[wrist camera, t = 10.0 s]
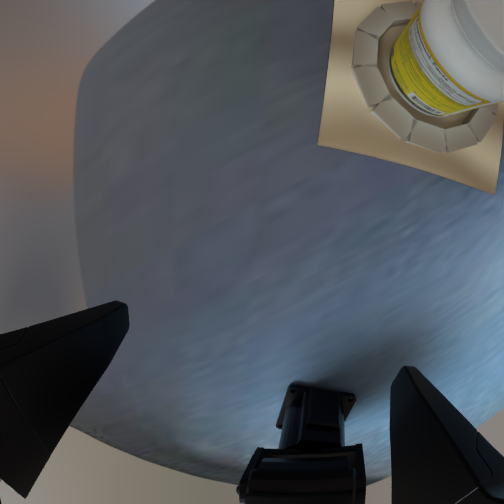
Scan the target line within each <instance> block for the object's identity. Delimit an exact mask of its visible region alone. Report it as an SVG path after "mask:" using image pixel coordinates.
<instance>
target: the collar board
mask: <svg viewBox="0 0 504 504" xmlns="http://www.w3.org/2000/svg"><path fill="white" fill-rule="evenodd" d="M423 1H424V0H335V2H334V14H333V25H332V36H331V45H330V55H329V64H328V72H327V80H326V88H325V96H324V104H323V111H322V118H321V125H320V132H319V139H318V145H320V146H325V147H330V148H335V149H340V150H345V151H349V152H354V153H358V154H363V155H367V156H371V157H375V158H379V159H383V160H387V161H391V162H395V163H398V164H402V165H405V166H409V167H412V168H416V169H419V170H423V171H426V172H429V173H432V174H436V175H439V176H442V177H445V178H448V179H451V180H454V181H457V182H459V183H462V184H465V185H468V186H471V187H473V188H476V189H479V190H481V191H484V192H486V193H489V194H492V195H495V190H496V184H497V178H498V172H499V165H500V157H501V148H502V137H503V122H504V102H501V103H497V104H492V105H488V106H484V107H480V108H476V109H472V110H469V111H465V112H462V113H458V114H454V115H451V116H445V117H434V116H430V115H426V114H424V113H421V112H419V111H418V110H416V109H414V108H413V107H412V106H410V105H409V104H408V103H407V102H406V101H405V100H404V99H403V98H402V97H401V96H400V94H399V93H398V92H397V90H396V88H395V87H394V85H393V83H392V80H391V77H390V73H389V68H388V60H389V54H390V51H391V49H392V47H393V45H394V44H395V42H396V41H397V39H398V38H399V36H400V35H401V33H402V31H403V30H404V29H405V27H406V26H407V24H408V23H409V21H410V20H411V18H412V17H413V15H414V14H415V12H416V11H417V10H418V8H419V7H420V5H421V4H422V2H423Z"/></svg>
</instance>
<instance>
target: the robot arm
mask: <svg viewBox="0 0 504 504" xmlns="http://www.w3.org/2000/svg"><path fill="white" fill-rule="evenodd" d="M128 329H129V314H128V306H127V304H125V303H123V302H120V301H112V302H109V303H106V304H102V305H99V306H96V307H92V308H89V309H86V310H83V311H79V312H76V313H73V314H69V315H66V316H63V317H59V318H56V319H52V320H49V321H46V322H43V323H39V324H36V325H32V326H29V327H28V328H27V327H26V328H22V329H19V330H15V331H11V332H8V333H4V334H0V481H1V480H2V481H3V482H5V483H6V484H7V485H8V486H9V487H10V488H12V489H13V490H14V491H15V492H17V493H18V494H19V495H20V496H21V497H23V498H24V499H25V498H26V497H27V496H28V494H29V492H30V490H31V488H32V487H33V485H34V483H35V481H36V480H37V478H38V476H39V475H40V473H41V471H42V469H43V468H44V466H45V464H46V463H47V461H48V459H49V458H50V455H51V454H52V452H53V451H54V449H55V447H56V446H57V444H58V442H59V441H60V439H61V438H62V436H63V434H64V433H65V431H66V430H67V428H68V427H69V425H70V423H71V422H72V420H73V419H74V417H75V416H76V414H77V412H78V411H79V409H80V408H81V406H82V405H83V403H84V402H85V400H86V399H87V397H88V396H89V394H90V393H91V391H92V390H93V388H94V387H95V385H96V384H97V382H98V381H99V379H100V378H101V376H102V375H103V373H104V372H105V371H106V369H107V367H108V366H109V364H110V363H111V361H112V359H113V357H114V355H115V354H116V352H117V350H118V348H119V346H120V344H121V342H122V341H123V339H124V337H125V335H126V333H127V332H128ZM292 389H294V390H292ZM350 398H352V399H350ZM355 401H356V396H355V394H351V393H344V392H336V391H329V390H323V389H317V388H310V387H305V386H299V385H290V386H289V387H288V389H287V392H286V395H285V398H284V402H283V405H282V408H281V411H280V414H279V417H278V420H277V423H276V427H277V428H278V429H282V433H281V438H280V443H279V449H264V448H260V447H257V449H256V451H255V453H254V454H253V455H252V458H251V460H250V462H249V464H248V466H247V468H246V470H245V472H244V474H243V476H242V478H241V480H240V483H239V485H238V486H237V489H236V492H237V493H238V495H239V500H240V504H365V495H366V474H365V464H364V456H363V448H362V443H361V444H355V445H352V446H345V434H344V422H345V420H346V418H347V416H348V414H349V412H350V411H351V409H352V407H353V405H354V403H355ZM390 444H391V468H392V504H504V457H503V456H502V455H501V454H500V453H499V452H498V451H497V450H496V449H495V448H494V447H493V446H492V445H491V444H490V443H489V442H488V441H487V440H486V439H485V438H484V437H483V436H482V435H481V434H480V433H479V432H477V430H476V429H475V428H474V426H473V425H472V424H471V423H470V422H469V421H468V420H467V419H466V418H465V417H464V416H463V415H462V414H461V413H460V412H459V411H458V410H457V409H456V408H455V407H454V406H453V405H452V404H451V403H450V402H449V401H448V400H447V399H446V398H445V397H444V395H443V394H442V393H441V392H440V391H439V390H438V389H437V388H436V387H435V386H434V385H433V384H432V383H431V382H430V381H429V380H428V379H427V378H426V377H425V376H424V375H423V374H422V373H421V372H420V371H419V370H418V369H417V368H415V367H413V366H403V367H402V368H401V369H400V371H399V373H398V374H397V376H396V378H395V380H394V381H393V383H392V385H391V395H390ZM0 504H1V500H0Z"/></svg>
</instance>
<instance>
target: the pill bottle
mask: <svg viewBox="0 0 504 504" xmlns="http://www.w3.org/2000/svg"><path fill="white" fill-rule="evenodd" d="M388 68H389V73H390V77H391V80H392V83H393V85H394V87H395V88H396V90H397V92H398V93H399V94H400V96H401V97H402V98H403V99H404V100H405V101H406V102H407V103H408V104H409V105H410V106H412V107H413V108H414V109H416V110H418V111H419V112H421V113H424V114H426V115H430V116H434V117H445V116H451V115H454V114H458V113H462V112H465V111H469V110H472V109H476V108H480V107H484V106H488V105H492V104H497V103H501V102H504V0H424V1H423V2H422V4H421V5H420V7H419V8H418V10H417V11H416V12H415V14H414V15H413V17H412V18H411V20H410V21H409V23H408V24H407V26H406V27H405V29H404V30H403V31H402V33H401V35H400V36H399V38H398V39H397V41H396V42H395V44H394V45H393V47H392V49H391V51H390V54H389V60H388Z"/></svg>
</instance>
